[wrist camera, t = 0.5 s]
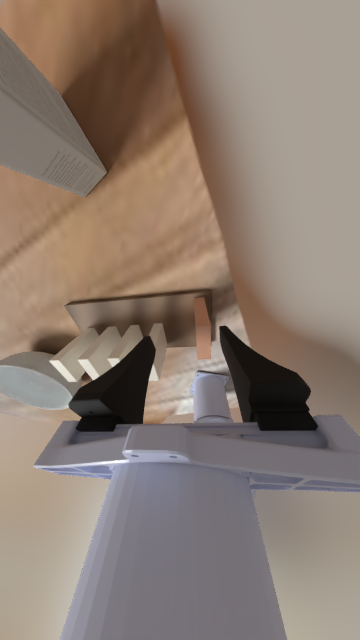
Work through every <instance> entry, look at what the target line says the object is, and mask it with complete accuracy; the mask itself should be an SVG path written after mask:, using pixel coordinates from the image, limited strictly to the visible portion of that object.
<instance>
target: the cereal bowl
mask: <svg viewBox="0 0 360 640" xmlns="http://www.w3.org/2000/svg"><path fill="white" fill-rule="evenodd" d="M54 356H55V355H52V354H49V353H44V352H36V351H35V352H22V353H18V354H14V355H11V356H9V357H7V358H5V359H3V360H1V361H0V392H1V393H3V394H4V395H6V396H8V397H10V398H12V399H14V400H17V401H19V402H22V403H25V404H27V405H31V406H34V407H38V408H43V409H51V410H60V409H65V408H68V407H69V405H68V403H69V402H70V401H71V399H72V398H73V396H74V395H75V394H76V392H77V391H78V389H79V388H81V387H82V378H80V379H79V380H78V382H68V381H67V380H66V379H65V377H64V376H63V375H62V374H61V373H60V372H59V371H58V370H57V369H56V368H55V367H54V366H53V365H52V364H51V363H50V361H49V360H50V359H51V358H53V357H54Z"/></svg>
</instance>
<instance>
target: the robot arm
mask: <svg viewBox="0 0 360 640" xmlns="http://www.w3.org/2000/svg"><path fill="white" fill-rule="evenodd" d="M219 329H220V343H221V347H222V351H223V354H224V356H225V359H226V362H227V365H228V367H229V370H230V373H231V376H232V380H233V383H234V387H235V391H236V395H237V399H238V403H239V407H240V411H241V416H242V419H243V423H234V422H233V419H232V417H231V414H230V409H229V405H228V400H227V396H226V392H225V388H224V386H225V385H226V383H227V381H228V379H229V376H226V375H219V374H212V373H206V372H199V371H198V372H196V375H195V378H194V381H193V384H192V387H191V390H190V394H193V399H194V420H195V421H194V423H187V424H186V423H183V424H143V414H144V406H145V398H146V392H147V386H148V381H149V377H150V373H151V370H152V366H153V363H154V359H155V354H156V348H155V346H154V344H153V341H152V339H151V337H150V336H145V337H144V338H143V339H142V340H141V341H140V342H139V343H138V344H137V345H136V346H135V347H134V348H133V349H132V350H131V351H130V352H129V353H128V354H127V355H126V356H125V357H124V358H123V359H122V360H121V361H120V362H118V363H117V364H116V365H115V366H114V367H112V368H111V369H109V370H108V371H107V372H105V373H104V374H102V375H101V376H99V377H98V378H96V379H95V380H93V381H91V382H90V383H88V384H86V385H84V386H83V387H81V388H79V389H78V391H77V392H76V394H75V395H74V396H73V398H72V399H71V401H70V402H69V403H68V405H69V408H70V409H71V410H72V411H74V412H75V413H76V414H78V415H79V416H81V417H82V418H81V420H80V421H63V422H62V424H61V425H60V427H59V428H58V430H57V431H56V433H55V434H54V436H53V437H52V439H51V440H50V442H49V443H48V445H47V446H46V447H45V449H44V450H43V452H42V453H41V455H40V456H39V458H38V459H37V461H36V463H35V464H34V465H33V467H35V468H38V469H42V470H46V471H49V472H52V473H56V474H60V475H72V476H84V477H93V478H102V479H111V481H110V484H109V487H108V490H107V493H106V497H105V500H104V503H103V506H102V509H101V512H100V515H99V518H98V522H97V525H96V528H95V531H94V534H93V537H92V540H91V543H90V546H89V550H88V553H87V556H86V559H85V562H84V566H83V568H82V572H81V575H80V578H79V581H78V584H77V587H76V590H75V594H74V597H73V600H72V603H71V606H70V609H69V612H68V615H67V619H66V622H65V625H64V628H63V631H62V635H61V637H60V640H287V637H286V634H285V630H284V625H283V621H282V617H281V613H280V609H279V604H278V600H277V596H276V592H275V588H274V584H273V580H272V576H271V572H270V567H269V563H268V559H267V555H266V551H265V547H264V543H263V539H262V534H261V531H260V526H259V522H258V518H257V514H256V510H255V506H254V502H253V499H254V497H255V495H256V491H255V490H297V491H298V490H300V491H335V492H356V493H360V437H359V435H358V434H357V433H356V432H355V431H354V430H353V428H352V427H351V426H350V425H349V424H348V423H347V421H346V420H345V419H344V418H343V417H342V416H341V415H318V416H314V417H312V416H311V415H310V413H309V412H308V411H309V408H308V406H307V405H306V403H305V402H306V400H307V399H308V397H309V396H310V392H311V390H310V388H309V386H308V385H307V384H306V383H305V381H304V380H303V379H302V378H301V377H300V376H299V375H298V374H297V373H296V372H293V371H291V370H289V369H287V368H284V367H282V366H280V365H278V364H276V363H274V362H272V361H270V360H268V359H267V358H265V357H263V356H261V355H260V354H258V353H257V352H255V351H254V350H252V349H251V348H250V347H248V346H247V345H246V344H245V343H243V342H242V341H241V340H240V339H239V338H238V337H237V336H236V335H234V334H233V332H232V331H231V330H230V329H229V328H228V327H227V326H219Z"/></svg>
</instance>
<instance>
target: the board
mask: <svg viewBox="0 0 360 640" xmlns="http://www.w3.org/2000/svg"><path fill="white" fill-rule="evenodd" d="M199 297H204V300H205V304H206V308H207V312H208V316H209V320H210V325H211V312H212V292H211V290H205V291H194V292H183V293H173V294H162V295H151V296H141V297H130V298H119V299H109V300H98V301H87V302H77V303H68V304H66V305H64V306H65V308H66V309H67V311H68V312H69V314H70V315H71V317H72V319H73V320H74V322H75V323H76V325H77V326H78V328H79V329H80V331H81V333H82V332H83V331H84V330H85V329H87V328H95V330H96V331H97V333H98V335H99V336H100V335H101V334H102V333H103V332H104V331H105V330H106V329H107V327H112V326H116V327H117V329H118V332H119V334H120V336H121V338H122V337H123V335H124V334H125V332H126V331H127V330H128V328H129V327H130V325H139V327H140V330H141V333H142V336H143V338H144V337H145V336H149V334H150V332H151V329H152V327H153V325H154V324H157V323H163V328H164V332H165V337H166V341H167V347H166V348H170V347H193V346H197V342H196V328H195V313H194V298H199Z"/></svg>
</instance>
